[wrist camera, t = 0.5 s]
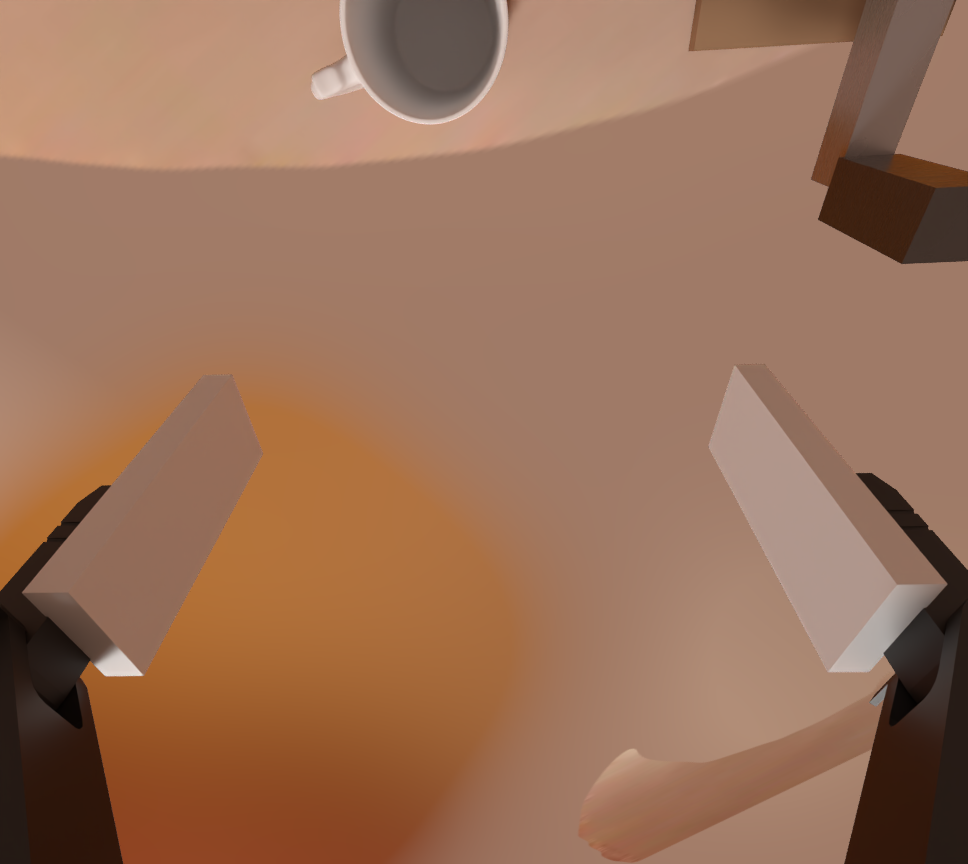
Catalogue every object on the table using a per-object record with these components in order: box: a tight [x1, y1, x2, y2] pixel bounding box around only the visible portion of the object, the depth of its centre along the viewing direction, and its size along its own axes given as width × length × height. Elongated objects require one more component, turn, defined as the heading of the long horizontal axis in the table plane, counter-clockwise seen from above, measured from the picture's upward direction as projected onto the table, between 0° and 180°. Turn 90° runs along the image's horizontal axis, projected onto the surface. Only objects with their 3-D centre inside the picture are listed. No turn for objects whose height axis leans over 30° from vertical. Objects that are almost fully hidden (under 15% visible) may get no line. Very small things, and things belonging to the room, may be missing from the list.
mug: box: [311, 0, 508, 124], centre depth 26 cm, size 10×7×12 cm, turn 112°
